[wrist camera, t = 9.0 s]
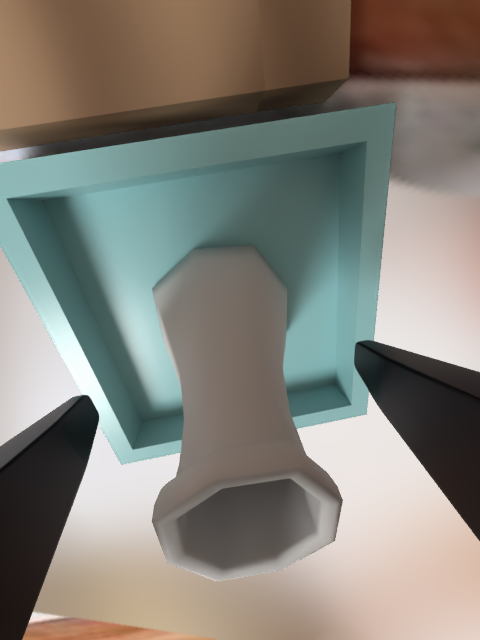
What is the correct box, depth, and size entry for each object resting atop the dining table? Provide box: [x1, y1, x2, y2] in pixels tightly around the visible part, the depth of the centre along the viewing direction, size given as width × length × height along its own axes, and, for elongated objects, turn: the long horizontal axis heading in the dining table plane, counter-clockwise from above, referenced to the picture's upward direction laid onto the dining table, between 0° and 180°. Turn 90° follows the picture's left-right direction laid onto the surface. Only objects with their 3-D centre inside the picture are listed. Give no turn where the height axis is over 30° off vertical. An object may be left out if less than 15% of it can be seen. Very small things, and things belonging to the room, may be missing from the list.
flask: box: [152, 244, 343, 582], centre depth 9 cm, size 7×7×10 cm
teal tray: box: [0, 102, 396, 464], centre depth 12 cm, size 15×15×2 cm
